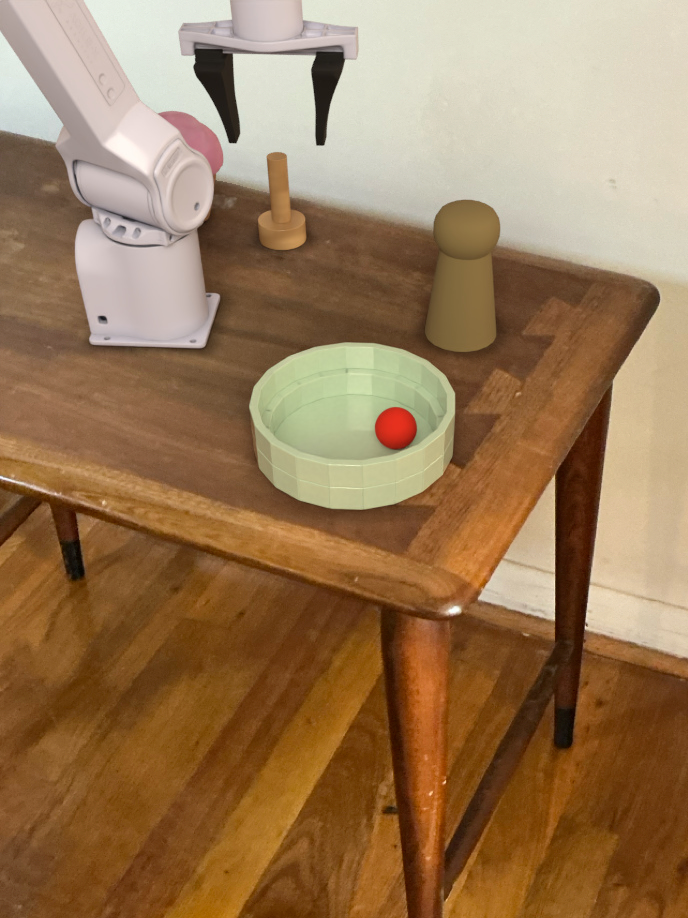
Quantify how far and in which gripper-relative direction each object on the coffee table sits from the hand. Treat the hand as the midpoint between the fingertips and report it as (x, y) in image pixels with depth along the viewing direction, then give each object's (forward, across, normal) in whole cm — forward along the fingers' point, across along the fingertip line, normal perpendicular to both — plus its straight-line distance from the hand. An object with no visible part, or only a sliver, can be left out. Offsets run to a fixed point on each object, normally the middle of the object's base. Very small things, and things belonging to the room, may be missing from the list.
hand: (277, 139), depth 90 cm
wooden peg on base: (+10, 0, 0) cm, 10 cm away
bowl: (+9, -9, +31) cm, 34 cm away
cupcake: (+10, +10, -3) cm, 14 cm away
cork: (+10, -17, +15) cm, 24 cm away
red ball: (+7, -12, +31) cm, 34 cm away
